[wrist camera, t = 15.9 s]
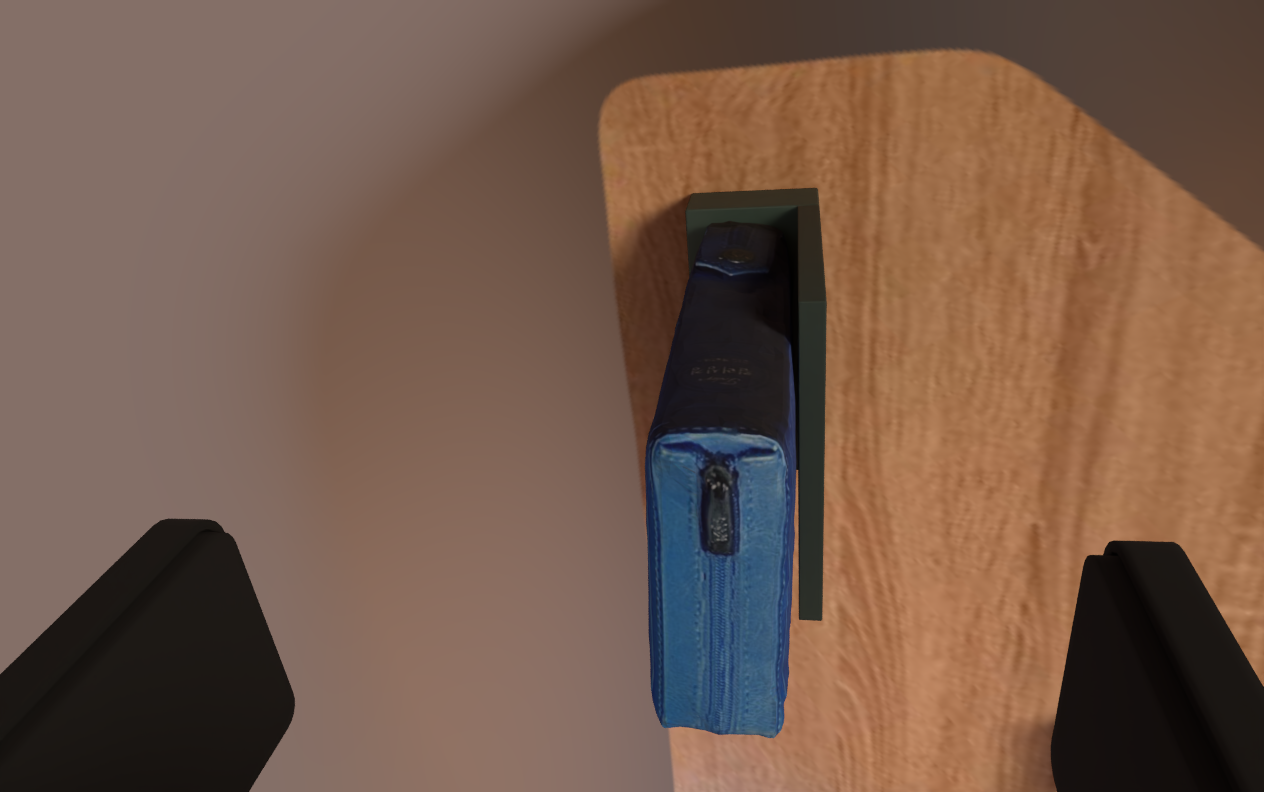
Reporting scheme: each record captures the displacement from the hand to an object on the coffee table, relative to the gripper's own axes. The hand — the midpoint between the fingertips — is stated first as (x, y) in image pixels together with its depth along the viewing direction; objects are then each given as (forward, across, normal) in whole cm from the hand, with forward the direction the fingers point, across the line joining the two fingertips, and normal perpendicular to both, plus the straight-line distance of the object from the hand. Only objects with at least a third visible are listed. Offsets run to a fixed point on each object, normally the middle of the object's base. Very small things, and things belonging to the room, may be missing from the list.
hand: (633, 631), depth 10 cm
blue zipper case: (+35, +1, +13) cm, 38 cm away
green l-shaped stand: (+38, +1, +13) cm, 40 cm away
